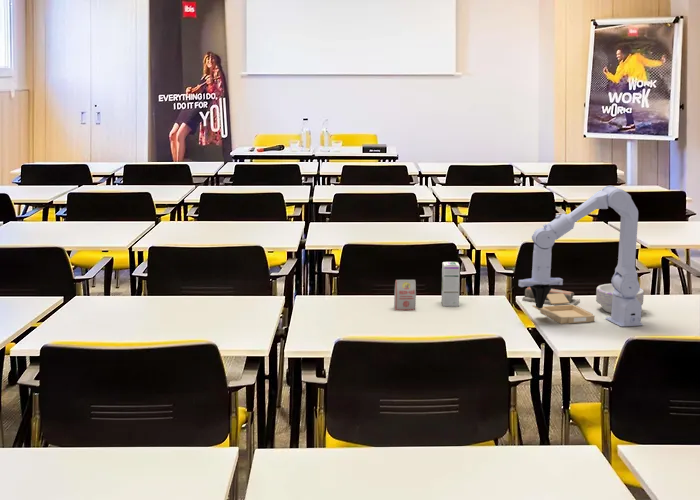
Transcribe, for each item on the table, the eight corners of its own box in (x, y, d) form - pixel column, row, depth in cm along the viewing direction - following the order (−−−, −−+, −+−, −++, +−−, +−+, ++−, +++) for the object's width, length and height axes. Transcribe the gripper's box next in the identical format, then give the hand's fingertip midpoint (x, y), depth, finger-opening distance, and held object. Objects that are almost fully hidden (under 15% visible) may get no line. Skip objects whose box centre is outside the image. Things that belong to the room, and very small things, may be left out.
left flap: (558, 315, 270) (544, 312, 268) (557, 316, 270) (544, 313, 268) (545, 308, 278) (532, 305, 276) (545, 309, 278) (532, 306, 276)
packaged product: (522, 288, 297) (531, 283, 306) (521, 302, 298) (530, 296, 307) (573, 295, 288) (581, 289, 297) (572, 309, 289) (580, 303, 298)
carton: (596, 322, 272) (597, 316, 272) (561, 324, 269) (561, 318, 269) (573, 310, 286) (574, 304, 286) (540, 312, 283) (540, 306, 283)
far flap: (569, 302, 286) (563, 293, 290) (551, 303, 284) (545, 294, 288) (569, 303, 286) (562, 294, 290) (551, 304, 285) (545, 295, 289)
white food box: (394, 307, 288) (394, 278, 286) (413, 307, 288) (414, 278, 286) (395, 310, 284) (396, 281, 282) (415, 310, 284) (416, 281, 282)
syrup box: (459, 306, 289) (460, 265, 286) (442, 306, 289) (443, 264, 286) (457, 302, 295) (459, 261, 292) (440, 302, 295) (441, 261, 292)
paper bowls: (590, 313, 283) (592, 290, 281) (600, 303, 296) (602, 281, 295) (637, 319, 276) (639, 296, 274) (645, 309, 289) (647, 286, 288)
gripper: (526, 269, 264) (524, 311, 267) (568, 267, 268) (565, 309, 270) (516, 265, 271) (514, 306, 273) (557, 263, 274) (555, 303, 277)
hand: (539, 307), depth 272 cm, fingers closed
